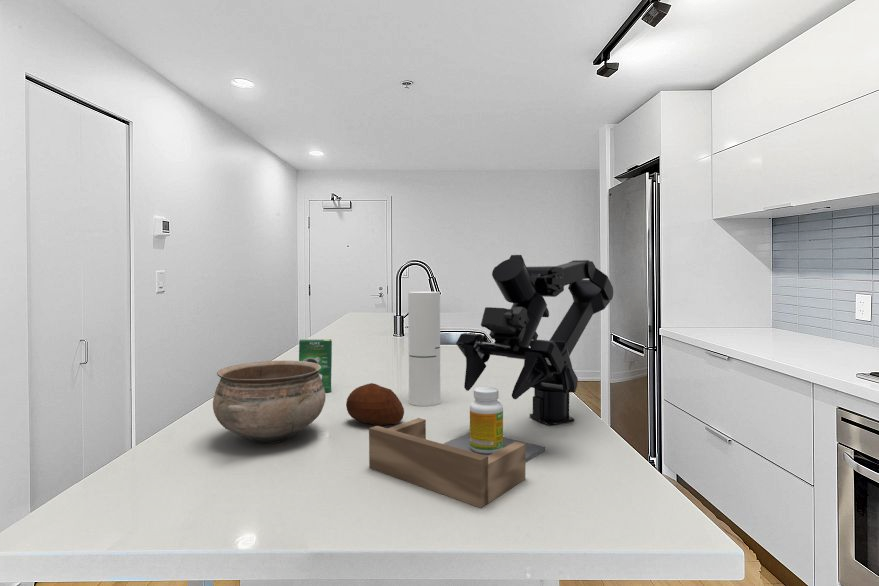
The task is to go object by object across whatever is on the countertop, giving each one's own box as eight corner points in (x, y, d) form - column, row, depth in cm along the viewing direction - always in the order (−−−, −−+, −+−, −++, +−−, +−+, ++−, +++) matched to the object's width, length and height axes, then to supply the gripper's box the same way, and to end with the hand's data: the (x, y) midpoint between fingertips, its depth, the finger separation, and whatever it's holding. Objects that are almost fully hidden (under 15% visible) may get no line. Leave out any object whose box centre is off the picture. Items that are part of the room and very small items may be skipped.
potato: (400, 430, 91) (400, 388, 91) (339, 429, 92) (339, 387, 92) (406, 418, 99) (406, 379, 98) (350, 417, 100) (350, 378, 99)
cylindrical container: (446, 400, 113) (445, 291, 112) (429, 407, 107) (428, 292, 106) (420, 396, 116) (420, 291, 116) (402, 403, 110) (401, 292, 110)
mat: (474, 433, 89) (474, 429, 89) (544, 450, 81) (544, 446, 81) (434, 450, 81) (434, 447, 80) (508, 472, 72) (508, 468, 72)
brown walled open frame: (418, 447, 82) (418, 412, 82) (525, 478, 69) (525, 437, 69) (369, 467, 74) (368, 428, 73) (481, 508, 61) (480, 460, 61)
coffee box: (332, 389, 124) (331, 338, 123) (332, 392, 121) (331, 339, 120) (299, 391, 122) (298, 339, 121) (298, 394, 119) (297, 340, 119)
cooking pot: (256, 415, 101) (255, 356, 101) (345, 418, 99) (344, 358, 98) (176, 460, 77) (175, 383, 76) (291, 466, 74) (290, 386, 74)
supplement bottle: (501, 455, 77) (501, 393, 76) (467, 453, 78) (467, 392, 77) (504, 444, 82) (504, 386, 82) (472, 442, 83) (471, 385, 83)
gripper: (461, 289, 89) (422, 357, 81) (556, 290, 78) (521, 371, 69) (486, 327, 96) (452, 395, 88) (577, 335, 84) (547, 413, 76)
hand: (488, 393), depth 80 cm, fingers open, 9 cm apart
